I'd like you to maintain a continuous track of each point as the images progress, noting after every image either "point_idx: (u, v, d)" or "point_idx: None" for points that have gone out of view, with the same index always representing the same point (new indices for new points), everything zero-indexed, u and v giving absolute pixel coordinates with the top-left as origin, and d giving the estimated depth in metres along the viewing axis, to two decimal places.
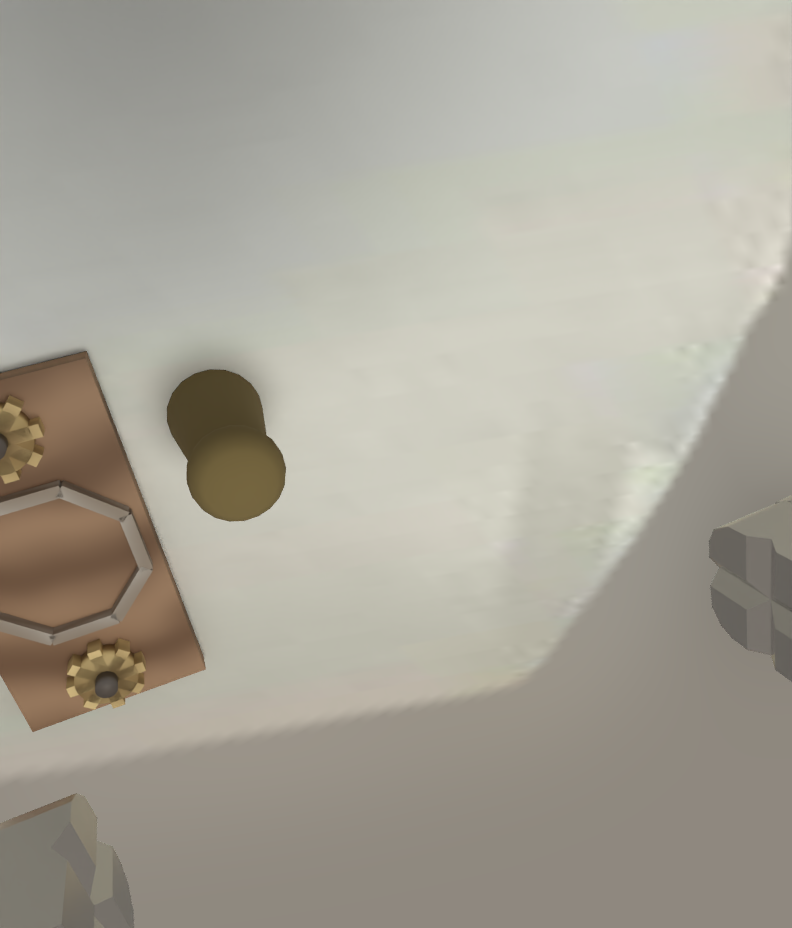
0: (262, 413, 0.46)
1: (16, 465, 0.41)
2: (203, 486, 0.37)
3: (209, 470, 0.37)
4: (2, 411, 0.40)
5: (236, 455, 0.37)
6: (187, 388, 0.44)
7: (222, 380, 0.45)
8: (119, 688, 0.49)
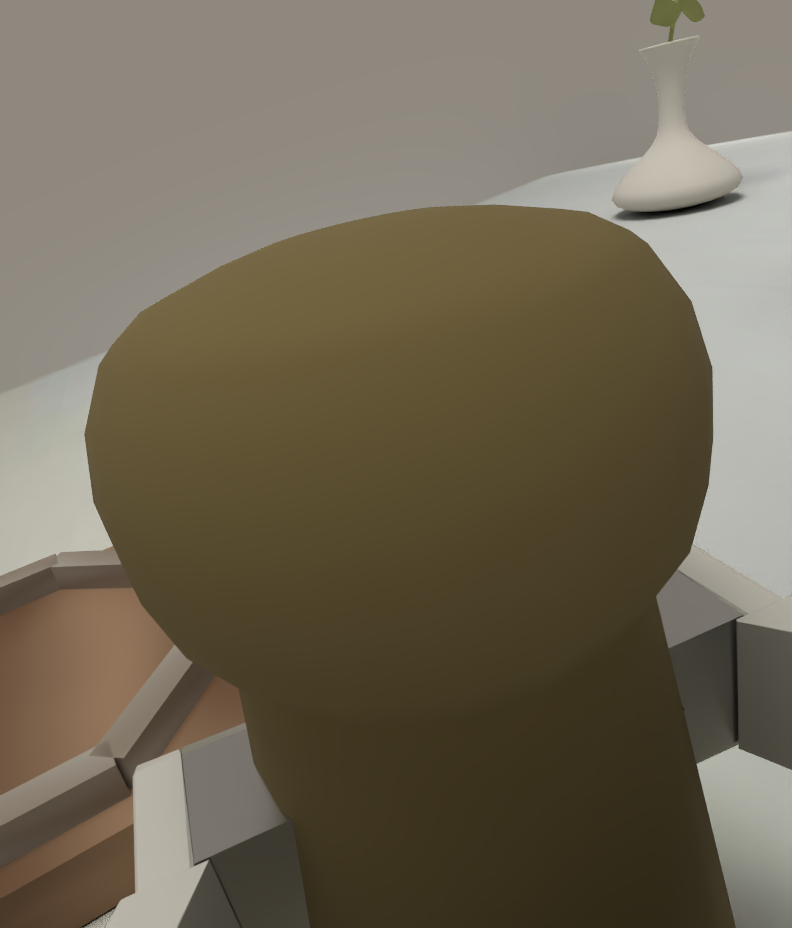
0: None
1: None
2: None
3: None
4: None
5: None
6: None
7: None
8: None
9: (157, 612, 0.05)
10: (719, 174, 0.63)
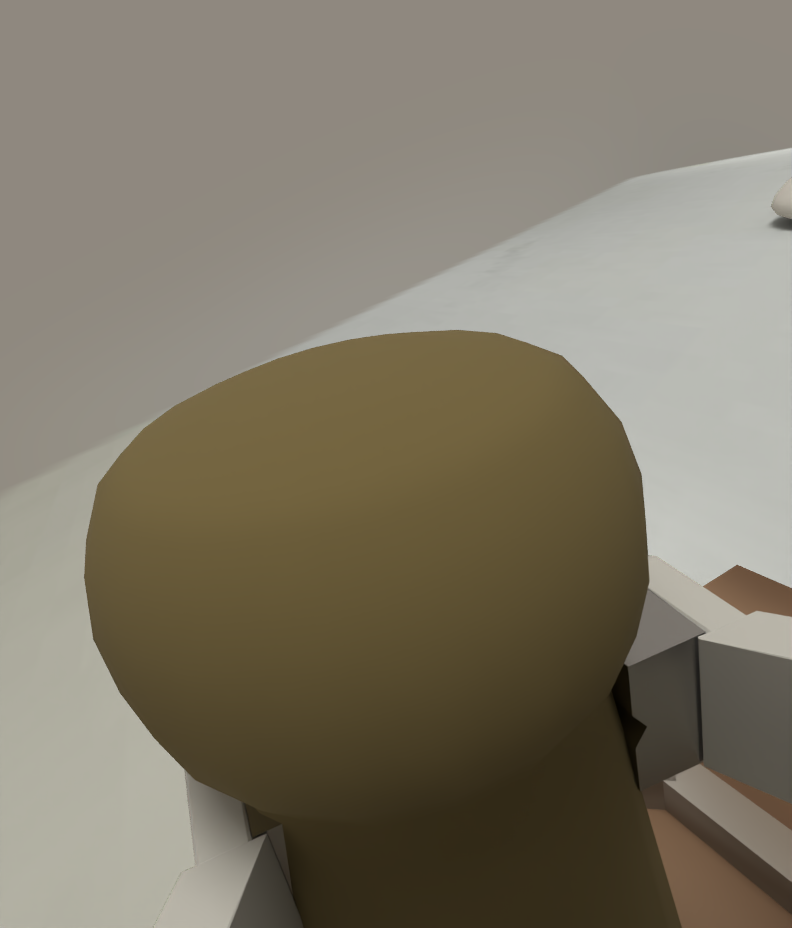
0: None
1: None
2: None
3: (413, 333, 0.08)
4: None
5: (512, 342, 0.07)
6: None
7: None
8: None
9: (129, 703, 0.06)
10: None
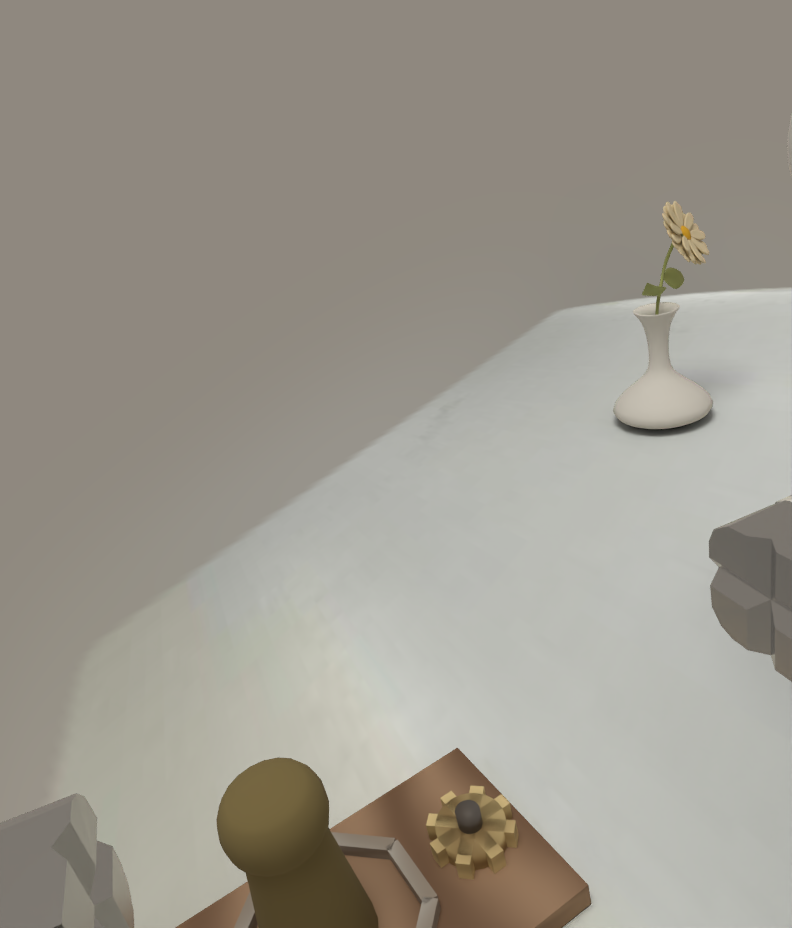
0: None
1: (452, 846, 0.40)
2: (268, 760, 0.35)
3: (286, 761, 0.35)
4: (504, 819, 0.41)
5: (301, 779, 0.34)
6: None
7: (368, 910, 0.37)
8: None
9: (226, 854, 0.33)
10: (694, 407, 0.84)
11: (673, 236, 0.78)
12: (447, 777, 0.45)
